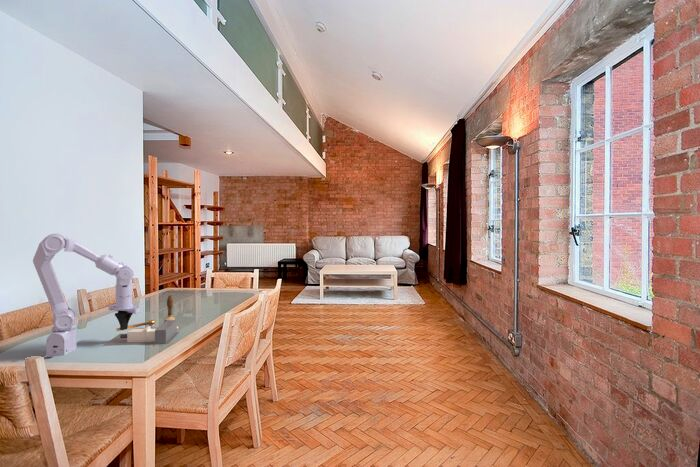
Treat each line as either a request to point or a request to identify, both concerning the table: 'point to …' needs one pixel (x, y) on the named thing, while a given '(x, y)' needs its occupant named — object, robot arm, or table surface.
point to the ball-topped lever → (138, 325)
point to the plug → (140, 335)
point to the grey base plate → (162, 335)
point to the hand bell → (170, 309)
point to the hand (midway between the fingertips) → (123, 329)
